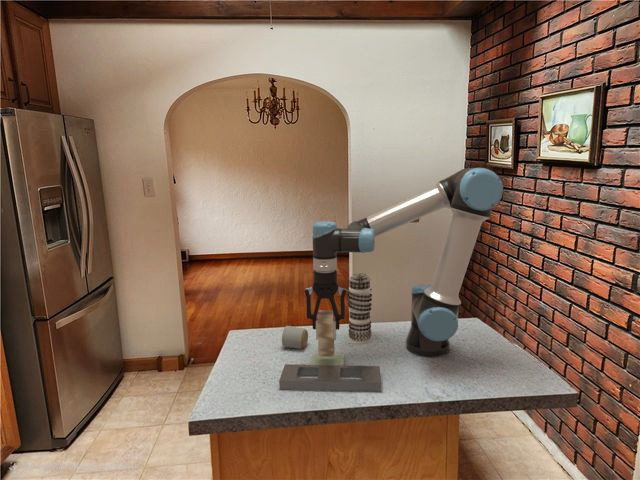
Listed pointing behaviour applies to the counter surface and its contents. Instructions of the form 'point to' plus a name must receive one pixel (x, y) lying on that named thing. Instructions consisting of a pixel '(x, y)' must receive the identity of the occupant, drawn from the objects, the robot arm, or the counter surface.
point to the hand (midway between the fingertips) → (326, 338)
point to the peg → (325, 333)
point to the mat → (327, 360)
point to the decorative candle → (359, 308)
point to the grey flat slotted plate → (331, 378)
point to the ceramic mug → (294, 337)
